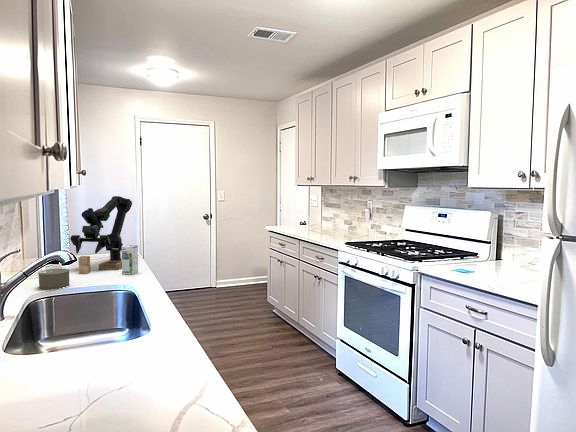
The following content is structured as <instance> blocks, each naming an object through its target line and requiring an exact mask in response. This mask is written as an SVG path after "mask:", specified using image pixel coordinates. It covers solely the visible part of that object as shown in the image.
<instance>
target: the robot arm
mask: <svg viewBox="0 0 576 432" xmlns="http://www.w3.org/2000/svg"><path fill="white" fill-rule="evenodd" d="M132 206H133V201H132V200H131V199H130V198H125V197H122V196H119V195H118V196H117V195H115V196H114V195H113V196H112V197H111V199H110V200H108V201H107V203H105V204H104V206H103V207H101V208H100V207H99V208H97V209H96V210H94V208H92V207H88V208H87V209H86V210H83V211H82V213H81V217H82V219H83V220H84V221H85V223H86V224H87V225H82V230H81V233H83V236H84V237H81V235H79V234H72V235H71V236H70V237H69V239H70V241H71V244H72V245H73V246H75V253H76V255H77V254H79V252H80V250H81V248H82V244H83V242H85V243H87V242H88V243H97V244H96V247H95V249H94V253H95V254H98V253H99V252H100V251H101V250H103V248H105V250H106V252H109V260H108V261H122V246H123V245H124V244H123V242H122V241H123V239H122V236H121V233H122V229H123V226H124V222H125V218H126V217H127V216H126V215H127V213H128V212H129V211H130V210H131V209H132ZM114 209H116V210H117V212H116V215H115V219H114V222H113V226H112V229H111V232H110V233H108V234H101V233H100V232H101V229H103V228H104V225H103V222H107V221H108V220H109V218H110V217H111V212H113V210H114Z"/></svg>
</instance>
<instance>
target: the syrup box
mask: <svg viewBox="0 0 576 432" xmlns="http://www.w3.org/2000/svg"><path fill="white" fill-rule="evenodd" d="M121 260H122V268H121V274H122V275H131V276H132V275H135V274H138V273H139V246H138V244H123V246H122V251H121Z"/></svg>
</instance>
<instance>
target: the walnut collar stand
mask: <svg viewBox="0 0 576 432" xmlns="http://www.w3.org/2000/svg"><path fill="white" fill-rule="evenodd" d="M119 269H120V270H122V261H109V260H104V261H103V262H100V263H99V264H98V271H120V270H119Z"/></svg>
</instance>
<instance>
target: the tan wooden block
mask: <svg viewBox="0 0 576 432" xmlns="http://www.w3.org/2000/svg"><path fill="white" fill-rule="evenodd" d="M91 272H92V271H91V256H90V255H81V256H78V274H79V275H88V274H90V273H91Z"/></svg>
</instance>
